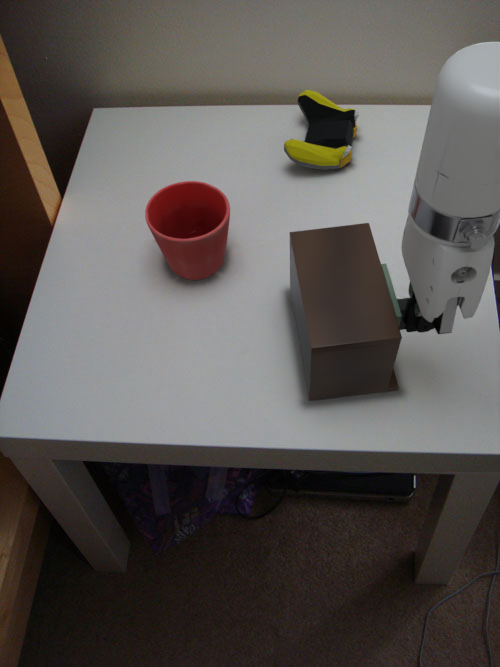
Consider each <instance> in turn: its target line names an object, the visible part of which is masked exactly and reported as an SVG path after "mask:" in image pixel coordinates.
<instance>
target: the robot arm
mask: <svg viewBox="0 0 500 667" xmlns="http://www.w3.org/2000/svg"><path fill="white" fill-rule="evenodd" d="M407 212H408V214H407V218H406V221H405V224H404V229H403V234H402V239H401V255H402V260H403V263H404V266H405V269H406V273H407V276H408V278H409V285H408V297H409V298H412V299H408V301H407V305H406V308H405V312H404V316H403V322H404V324H406V326H405V329H404V330H405V332H406V333H415V332H417V333H427V332H430V331H432V330H435V331H436V333H437V335H446V334H452V332H453V329H454V323H455V318H456V314H457V313H456V312H457V309H458V307H459V309H460V312H461V315H462V317H463V319H464V320H466V319H471V318H473V317H474V315H475V314H476V313H477V310H478V308H479V305H480V303H481V300H482V297H483V294H484V292H485V288H486V286H487V282H488V279H489V275H490V272H491V268H492V262H493V259H494V258H493V256H494V252H495V250H494V249H495V244H496V243H495V237H494V234H496V233H497V230H498V229H499V226H500V41H485V42H478V43H474V44H471V45H467V46H465V47H463V48H461V49H459V50H458V51H456V52H455V53H453V54H452V55H450V57H449V58H448V59H447V60H446V61H445V63H444V64H443V66H442V68H441V69H440V71H439V73H438V75H437V80H436V83H435V87H434V91H433V96H432V99H431V104H430V109H429V113H428V118H427V123H426V127H425V131H424V137H423V140H422V144H421V149H420V154H419V159H418V162H417V167H416V172H415V176H414V180H413V186H412V189H411V193H410V199H409V203H408V209H407Z"/></svg>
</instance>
